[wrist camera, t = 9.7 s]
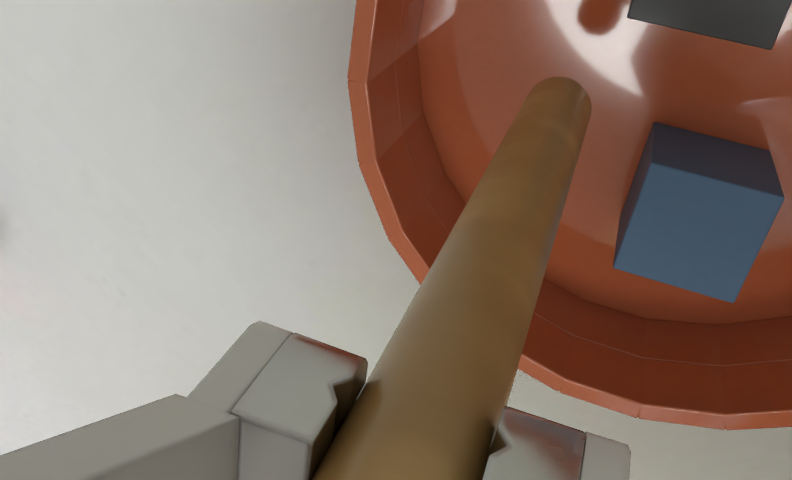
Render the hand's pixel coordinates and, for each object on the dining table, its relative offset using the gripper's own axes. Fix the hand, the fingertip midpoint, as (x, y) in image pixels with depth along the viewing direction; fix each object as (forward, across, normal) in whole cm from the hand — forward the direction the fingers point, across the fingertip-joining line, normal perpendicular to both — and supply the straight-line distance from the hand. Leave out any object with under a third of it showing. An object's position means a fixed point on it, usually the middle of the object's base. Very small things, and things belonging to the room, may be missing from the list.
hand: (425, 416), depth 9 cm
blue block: (+20, -5, +4) cm, 21 cm away
